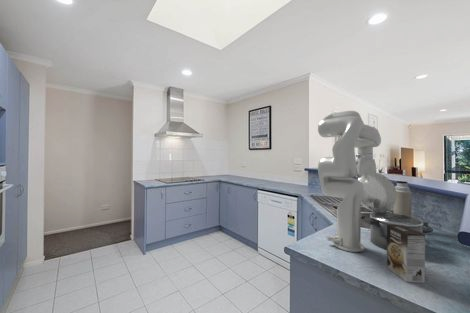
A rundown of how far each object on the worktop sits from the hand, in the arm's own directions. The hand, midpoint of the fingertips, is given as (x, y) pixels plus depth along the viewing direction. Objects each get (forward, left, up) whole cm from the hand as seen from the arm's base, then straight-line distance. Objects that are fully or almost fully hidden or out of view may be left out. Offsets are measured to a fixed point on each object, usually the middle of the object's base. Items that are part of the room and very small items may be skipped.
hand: (365, 187), depth 117 cm
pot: (0, -23, -24) cm, 33 cm away
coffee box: (-15, -48, -24) cm, 56 cm away
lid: (0, -10, -1) cm, 10 cm away
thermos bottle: (+21, 0, -24) cm, 32 cm away
